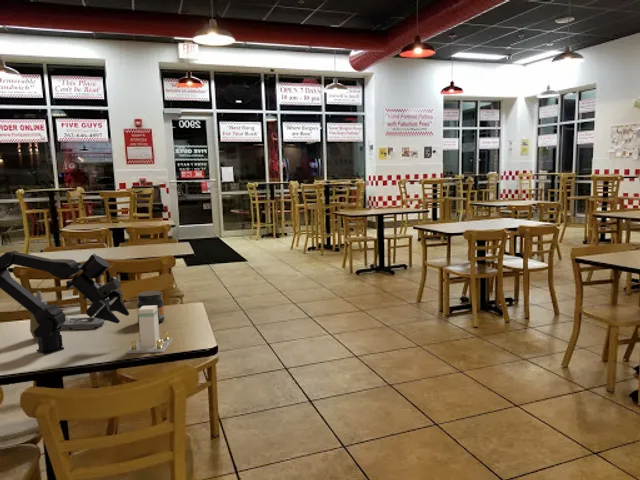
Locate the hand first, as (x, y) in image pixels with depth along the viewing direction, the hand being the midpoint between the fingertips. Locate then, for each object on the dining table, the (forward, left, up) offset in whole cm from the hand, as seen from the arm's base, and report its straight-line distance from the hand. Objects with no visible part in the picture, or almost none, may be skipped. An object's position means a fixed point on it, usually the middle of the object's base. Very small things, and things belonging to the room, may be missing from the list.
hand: (123, 318), depth 173 cm
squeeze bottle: (-9, +37, -11) cm, 40 cm away
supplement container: (+25, +18, -11) cm, 33 cm away
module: (+5, -7, -9) cm, 13 cm away
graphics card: (+6, +37, -11) cm, 39 cm away
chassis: (+5, -7, -10) cm, 13 cm away
